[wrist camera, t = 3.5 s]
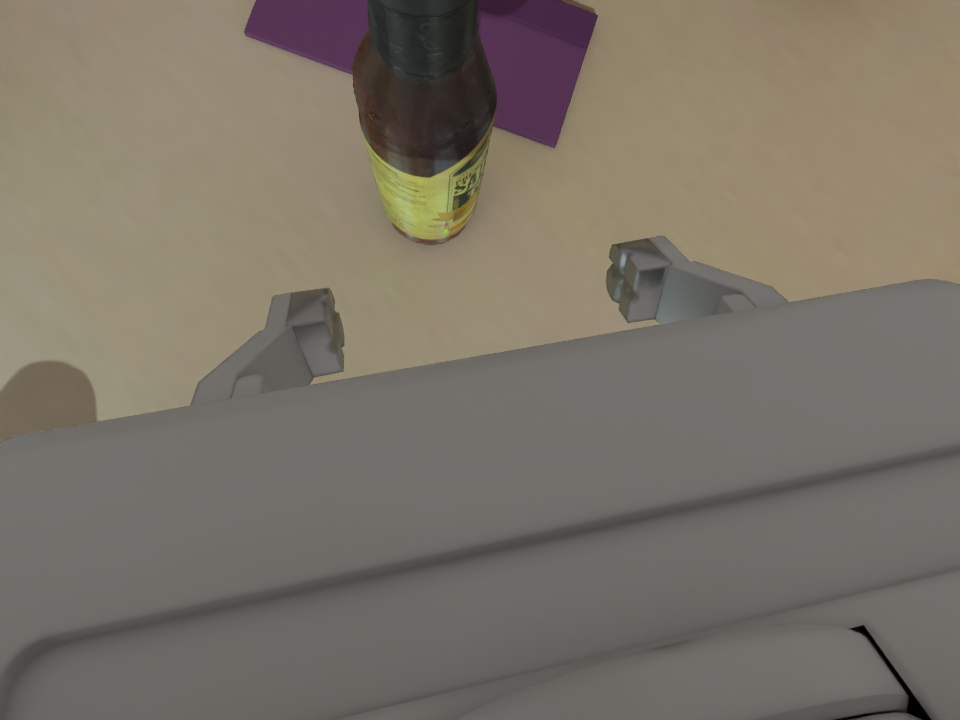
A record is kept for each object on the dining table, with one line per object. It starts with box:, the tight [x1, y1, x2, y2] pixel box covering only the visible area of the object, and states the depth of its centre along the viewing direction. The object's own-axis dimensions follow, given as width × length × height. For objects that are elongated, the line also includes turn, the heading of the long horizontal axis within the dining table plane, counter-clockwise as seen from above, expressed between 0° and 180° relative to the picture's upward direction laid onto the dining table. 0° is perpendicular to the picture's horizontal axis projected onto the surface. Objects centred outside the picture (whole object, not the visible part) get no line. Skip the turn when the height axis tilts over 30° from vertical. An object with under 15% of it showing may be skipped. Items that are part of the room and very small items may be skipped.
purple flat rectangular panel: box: [244, 0, 598, 148], centre depth 33 cm, size 22×10×1 cm, turn 72°
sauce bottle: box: [352, 0, 497, 245], centre depth 23 cm, size 7×6×20 cm
